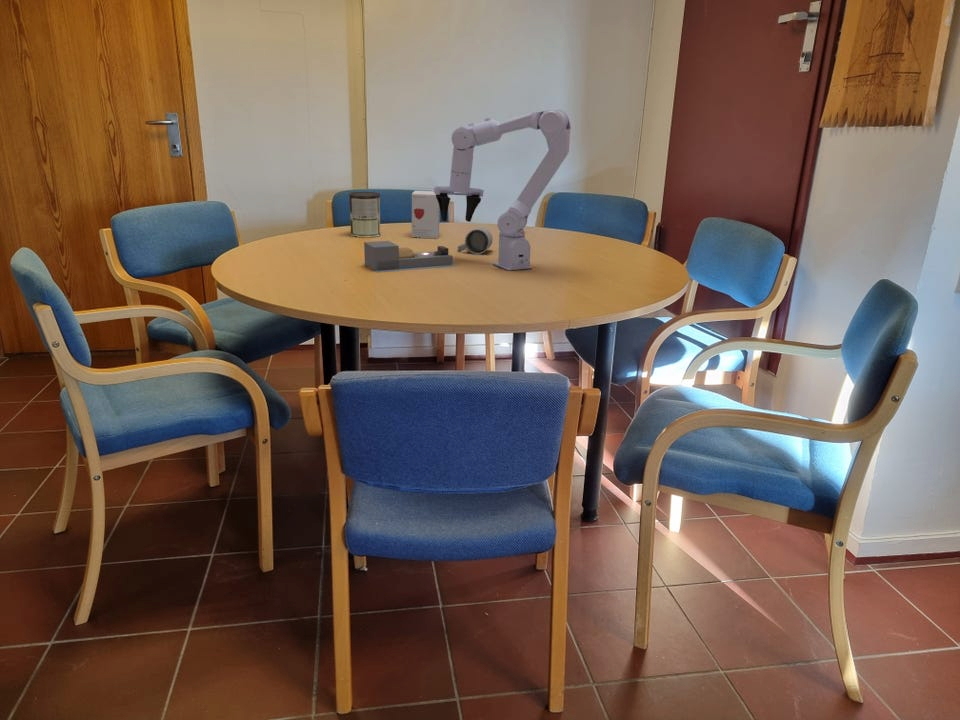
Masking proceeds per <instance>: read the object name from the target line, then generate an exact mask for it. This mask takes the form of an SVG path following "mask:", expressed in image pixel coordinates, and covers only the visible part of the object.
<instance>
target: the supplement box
mask: <svg viewBox="0 0 960 720" xmlns="http://www.w3.org/2000/svg"><path fill="white" fill-rule="evenodd" d="M440 216H441V211H440V207H439V203H438V200H437V198H436V194H435V193H434V190H431V191H430V190H414V191H413V192H412V193H411V238H412V237H417V238H418V239H434V238H437V239H438V238H439V235H440ZM419 237H420V238H419Z"/></svg>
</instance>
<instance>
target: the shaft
mask: <svg viewBox="0 0 960 720" xmlns="http://www.w3.org/2000/svg"><path fill="white" fill-rule="evenodd" d="M431 251H432V250H431ZM431 251H421V252H420V251H419V252H418V251H417V253H416V252H413V258H415V257H429V256H443V255H449V247H446V246H445V245H438V246H437V250H434V251H432V252H431Z"/></svg>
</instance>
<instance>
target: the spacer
mask: <svg viewBox="0 0 960 720" xmlns="http://www.w3.org/2000/svg"><path fill="white" fill-rule="evenodd" d="M413 251H414V250H413V249H411V248H409V247H399V259H401V258H413V253H414V252H413Z"/></svg>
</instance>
